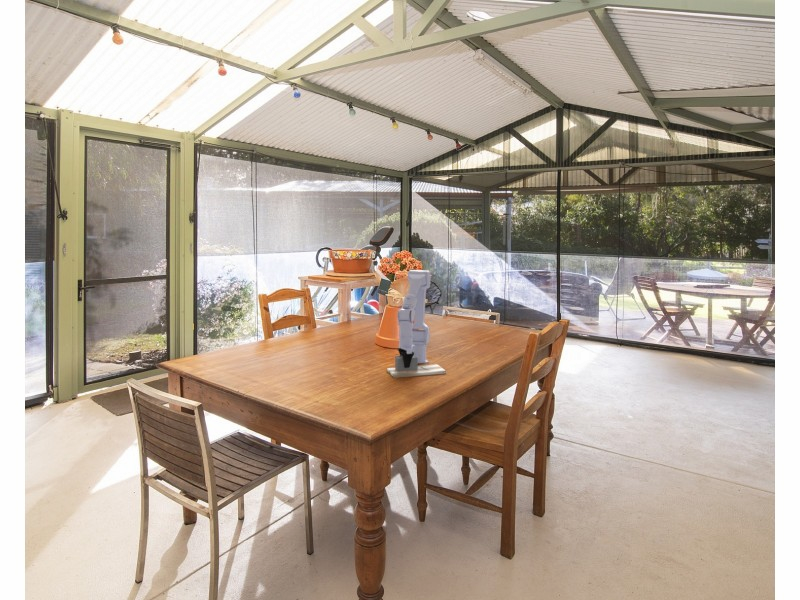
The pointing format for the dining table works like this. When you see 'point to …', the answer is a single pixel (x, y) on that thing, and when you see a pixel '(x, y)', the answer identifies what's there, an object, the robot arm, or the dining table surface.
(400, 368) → the block
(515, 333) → the dining table surface
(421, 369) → the cream flat panel
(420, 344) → the robot arm
